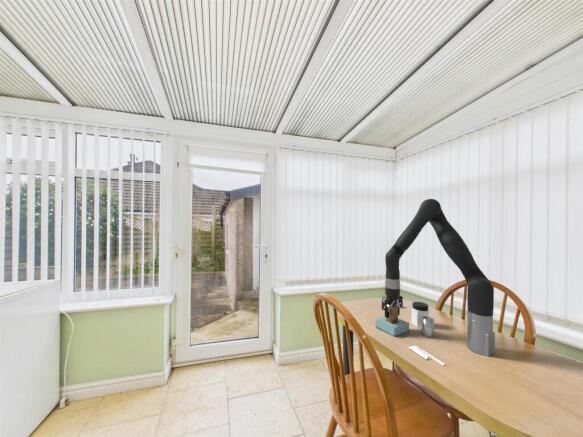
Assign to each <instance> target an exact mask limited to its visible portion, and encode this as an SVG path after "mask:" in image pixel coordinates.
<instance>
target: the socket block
mask: <svg viewBox="0 0 583 437" xmlns="http://www.w3.org/2000/svg"><path fill="white" fill-rule="evenodd" d="M375 328H376V329H377V330H379V331H381V332H383V333H386V334H387V335H389V336H392V337H394V338H395V337H398V336H402V335H405V334H407V333H409V332H410V322H408V321H405V320H404V319H401V318H399V317H398V323H394V324H392V323H390V322H388V321H387V318H386V317H385V315H383V316H382V317H381V316H380V317H378V318H375Z"/></svg>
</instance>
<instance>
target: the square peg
mask: <svg viewBox="0 0 583 437" xmlns="http://www.w3.org/2000/svg"><path fill="white" fill-rule="evenodd" d="M387 309H388V307H387ZM398 318H399V315H398V307H397V306H395V305H393V306H392V308H390V310H389V318H387V321H388V322H390V323H392V324H394V323H398Z"/></svg>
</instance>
